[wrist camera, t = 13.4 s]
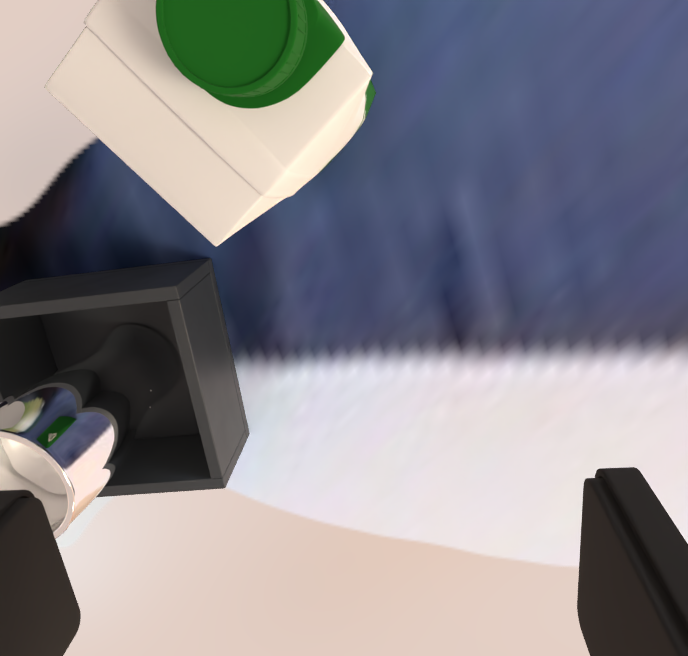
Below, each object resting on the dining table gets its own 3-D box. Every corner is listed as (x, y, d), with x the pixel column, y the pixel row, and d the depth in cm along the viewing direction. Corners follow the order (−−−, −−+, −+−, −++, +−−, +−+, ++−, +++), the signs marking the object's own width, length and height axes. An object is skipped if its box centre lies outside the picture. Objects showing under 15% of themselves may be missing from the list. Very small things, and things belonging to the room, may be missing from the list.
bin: (25, 279, 41) (-43, 310, 35) (211, 257, 39) (175, 285, 33) (81, 447, 45) (29, 502, 39) (249, 433, 44) (225, 488, 37)
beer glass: (103, 410, 43) (-37, 554, 29) (78, 321, 41) (-88, 432, 27) (193, 403, 42) (94, 548, 28) (173, 313, 40) (54, 422, 26)
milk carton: (398, 92, 35) (401, 71, 16) (296, 201, 37) (197, 291, 19) (290, -24, 33) (153, -199, 14) (191, 99, 36) (-31, 86, 17)
